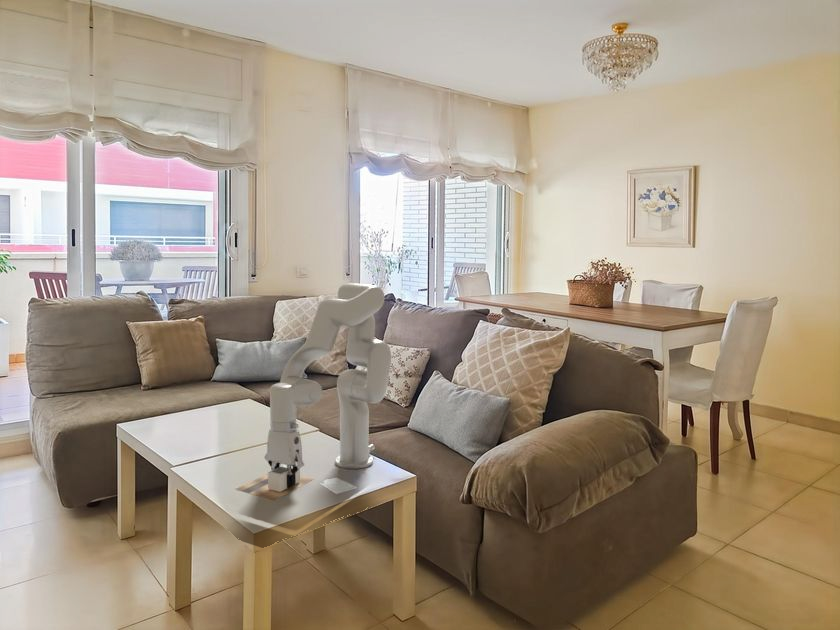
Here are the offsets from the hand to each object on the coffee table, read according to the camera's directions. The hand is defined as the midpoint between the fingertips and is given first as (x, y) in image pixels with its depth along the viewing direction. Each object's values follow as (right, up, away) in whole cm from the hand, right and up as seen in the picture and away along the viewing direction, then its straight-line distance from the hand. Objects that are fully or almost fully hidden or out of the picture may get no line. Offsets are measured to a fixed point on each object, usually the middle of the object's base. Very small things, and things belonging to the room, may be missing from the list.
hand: (284, 483), depth 183 cm
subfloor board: (-3, -1, +2) cm, 4 cm away
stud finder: (0, 0, 0) cm, 0 cm away
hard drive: (+15, -2, +2) cm, 15 cm away
